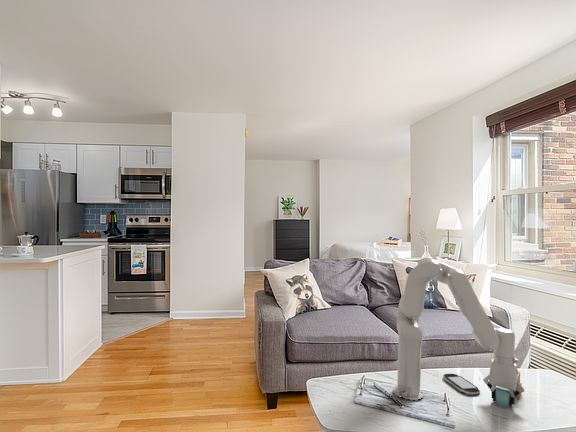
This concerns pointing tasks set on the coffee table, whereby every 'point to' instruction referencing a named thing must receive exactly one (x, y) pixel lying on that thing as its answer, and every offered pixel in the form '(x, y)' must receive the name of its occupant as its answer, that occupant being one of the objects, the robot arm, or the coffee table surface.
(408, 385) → the robot arm
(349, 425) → the coffee table surface
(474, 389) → the gaming console
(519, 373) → the tower top
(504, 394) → the teal rounded tapered object
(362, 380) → the coffee table surface
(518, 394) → the tower bottom
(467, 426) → the coffee table surface
